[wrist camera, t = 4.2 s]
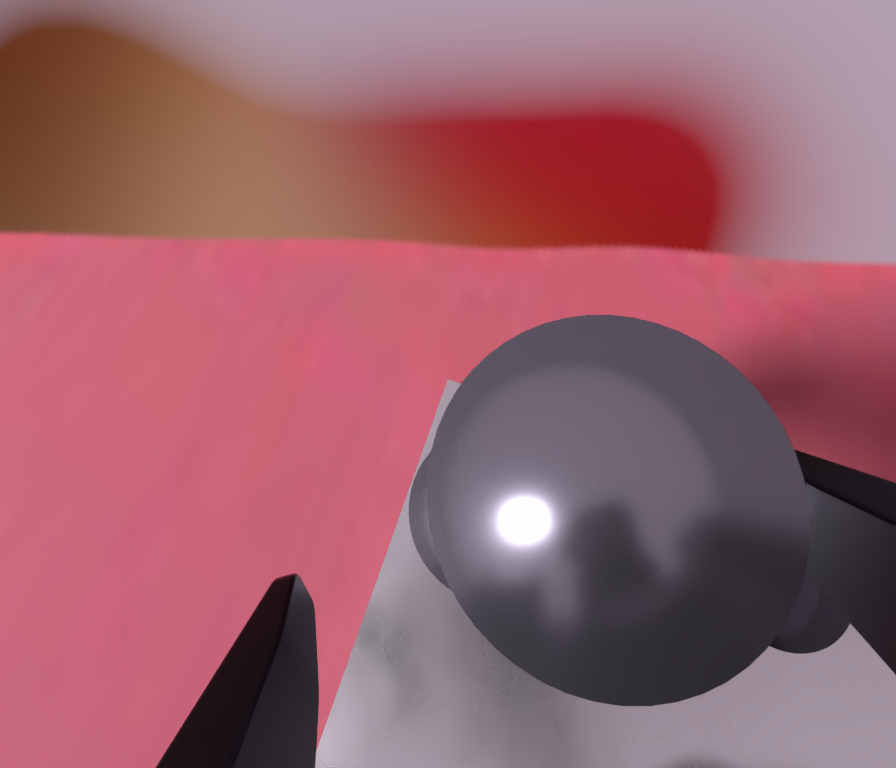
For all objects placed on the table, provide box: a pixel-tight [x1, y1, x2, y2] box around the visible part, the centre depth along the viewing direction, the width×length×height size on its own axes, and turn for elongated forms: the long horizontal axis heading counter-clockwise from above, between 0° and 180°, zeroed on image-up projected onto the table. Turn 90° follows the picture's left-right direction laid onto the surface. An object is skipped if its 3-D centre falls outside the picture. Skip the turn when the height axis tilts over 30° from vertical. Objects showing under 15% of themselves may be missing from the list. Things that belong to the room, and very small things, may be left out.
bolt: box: [409, 315, 810, 706], centre depth 10 cm, size 6×6×13 cm
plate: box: [315, 380, 896, 768], centre depth 16 cm, size 14×17×1 cm
